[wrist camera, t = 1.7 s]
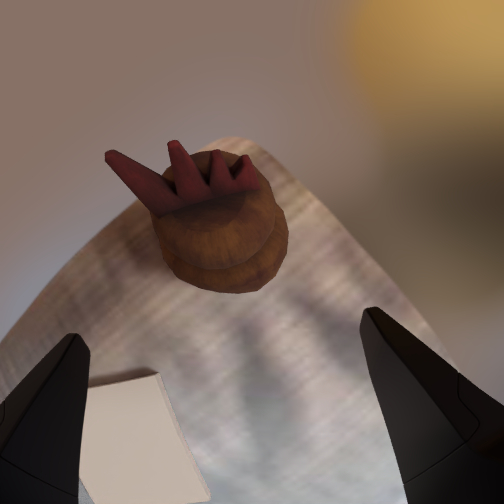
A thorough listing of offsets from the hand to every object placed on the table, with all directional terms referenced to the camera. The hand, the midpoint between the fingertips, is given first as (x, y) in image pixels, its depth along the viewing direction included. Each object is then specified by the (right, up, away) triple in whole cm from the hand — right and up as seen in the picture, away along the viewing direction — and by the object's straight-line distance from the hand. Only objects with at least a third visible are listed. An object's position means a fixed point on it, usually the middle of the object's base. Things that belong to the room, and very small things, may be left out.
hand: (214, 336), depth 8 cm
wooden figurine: (0, +2, +13) cm, 13 cm away
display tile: (-9, -13, +10) cm, 18 cm away
